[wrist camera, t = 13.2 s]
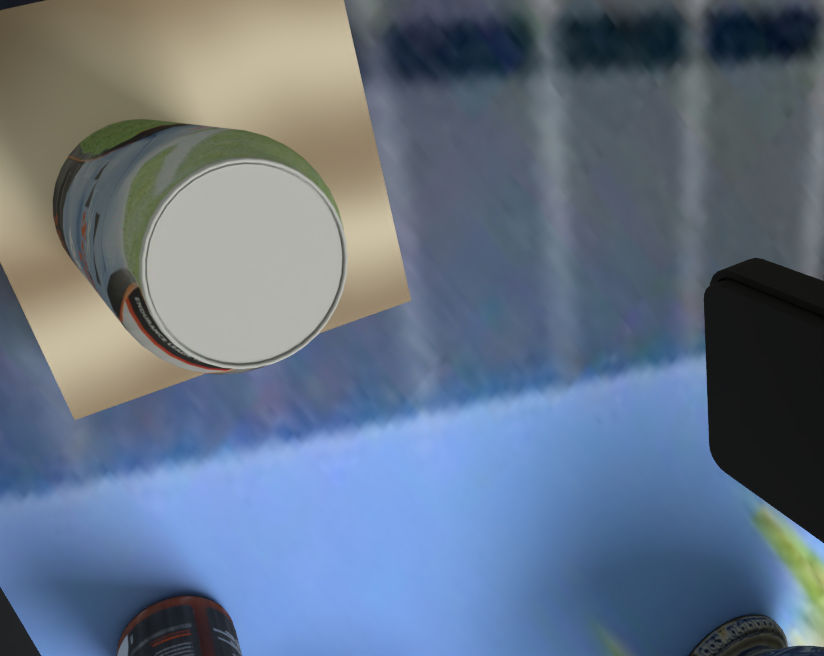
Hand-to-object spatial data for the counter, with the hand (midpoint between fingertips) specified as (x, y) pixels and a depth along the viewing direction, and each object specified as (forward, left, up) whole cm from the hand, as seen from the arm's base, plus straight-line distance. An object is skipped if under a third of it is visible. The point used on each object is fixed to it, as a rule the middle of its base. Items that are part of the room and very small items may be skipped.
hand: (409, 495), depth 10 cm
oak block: (0, 0, -26) cm, 26 cm away
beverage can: (0, -1, -21) cm, 21 cm away
